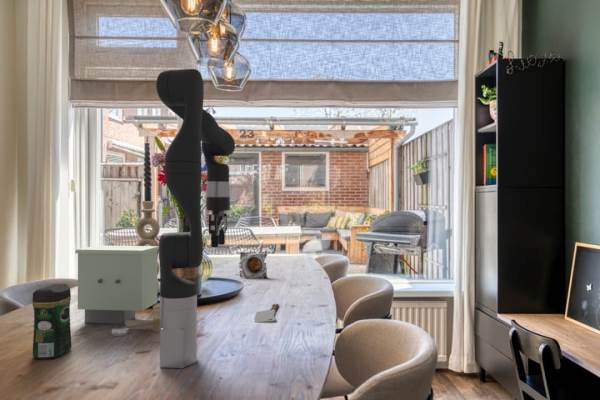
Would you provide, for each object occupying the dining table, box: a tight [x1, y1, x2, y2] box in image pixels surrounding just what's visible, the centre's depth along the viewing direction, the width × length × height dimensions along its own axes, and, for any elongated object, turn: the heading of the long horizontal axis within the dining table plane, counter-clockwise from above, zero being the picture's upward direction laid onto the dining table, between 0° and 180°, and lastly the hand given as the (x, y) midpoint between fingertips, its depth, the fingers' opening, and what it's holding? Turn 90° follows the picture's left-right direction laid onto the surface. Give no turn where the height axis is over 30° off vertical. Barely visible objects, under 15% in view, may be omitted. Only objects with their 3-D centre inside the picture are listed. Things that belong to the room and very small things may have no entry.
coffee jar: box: [31, 283, 72, 360], centre depth 121 cm, size 10×8×19 cm
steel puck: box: [111, 325, 130, 338], centre depth 139 cm, size 5×5×2 cm
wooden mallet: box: [124, 302, 160, 333], centre depth 144 cm, size 4×14×8 cm, turn 84°
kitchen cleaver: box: [253, 303, 280, 324], centre depth 164 cm, size 24×1×10 cm
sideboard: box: [75, 245, 159, 325], centre depth 152 cm, size 14×23×25 cm, turn 84°
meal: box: [238, 252, 268, 279], centre depth 239 cm, size 15×4×13 cm, turn 82°
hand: (218, 245), depth 145 cm, fingers open, 8 cm apart
